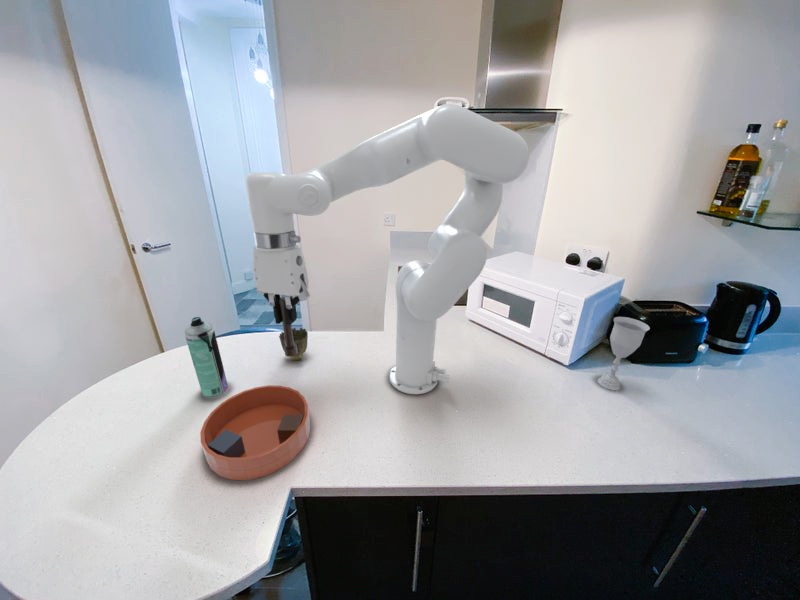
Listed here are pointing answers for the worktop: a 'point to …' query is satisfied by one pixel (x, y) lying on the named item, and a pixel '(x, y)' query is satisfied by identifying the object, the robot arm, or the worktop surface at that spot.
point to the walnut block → (288, 426)
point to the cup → (297, 342)
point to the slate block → (228, 445)
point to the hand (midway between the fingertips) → (286, 321)
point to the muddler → (287, 332)
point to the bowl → (256, 431)
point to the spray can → (206, 358)
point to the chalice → (623, 346)
